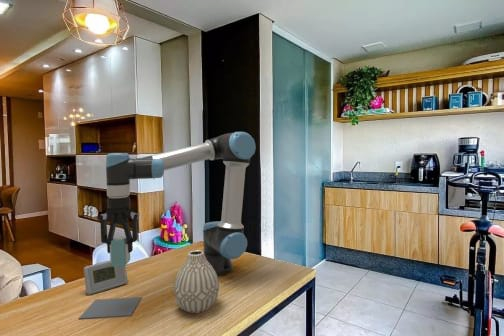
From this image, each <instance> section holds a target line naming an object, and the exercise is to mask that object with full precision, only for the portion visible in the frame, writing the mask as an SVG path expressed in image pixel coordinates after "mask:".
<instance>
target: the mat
mask: <svg viewBox="0 0 504 336" xmlns="http://www.w3.org/2000/svg"><path fill="white" fill-rule="evenodd" d="M142 298H143V297H142V296H138V297H137V296H136V297H119V298H118V297H117V298H102V299H100V298H99V299H97V298H96V299H94V300H93V302H92V303H91V304H90V305H89V306H88V307H87V308H86V309H85V311H84V312H83V313H82V314H81V315H80V316H79V317H78V320H91V319H106V318H107V319H108V318H110V319H111V318H120V317H121V318H123V317H124V318H125V317H132V315H133V314H134V312H135V310H136V308H137V307H138V305H139V303H140V301H141V300H142Z"/></svg>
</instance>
